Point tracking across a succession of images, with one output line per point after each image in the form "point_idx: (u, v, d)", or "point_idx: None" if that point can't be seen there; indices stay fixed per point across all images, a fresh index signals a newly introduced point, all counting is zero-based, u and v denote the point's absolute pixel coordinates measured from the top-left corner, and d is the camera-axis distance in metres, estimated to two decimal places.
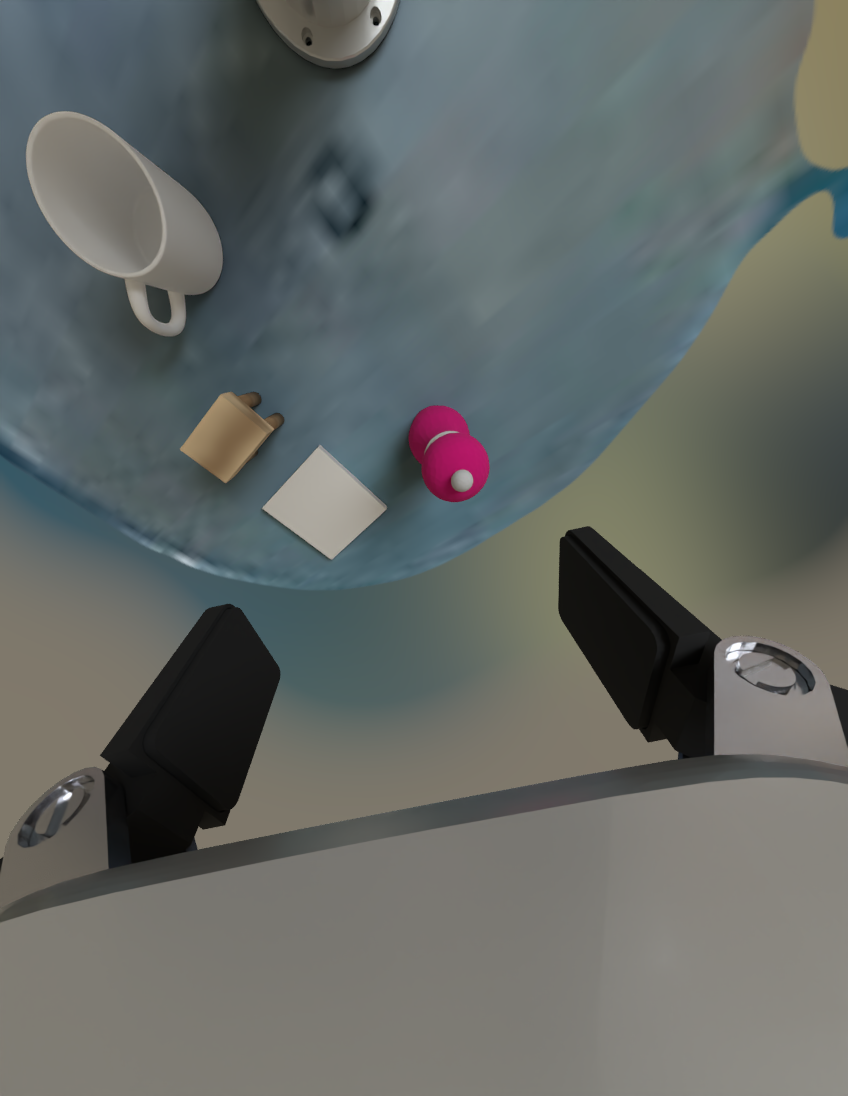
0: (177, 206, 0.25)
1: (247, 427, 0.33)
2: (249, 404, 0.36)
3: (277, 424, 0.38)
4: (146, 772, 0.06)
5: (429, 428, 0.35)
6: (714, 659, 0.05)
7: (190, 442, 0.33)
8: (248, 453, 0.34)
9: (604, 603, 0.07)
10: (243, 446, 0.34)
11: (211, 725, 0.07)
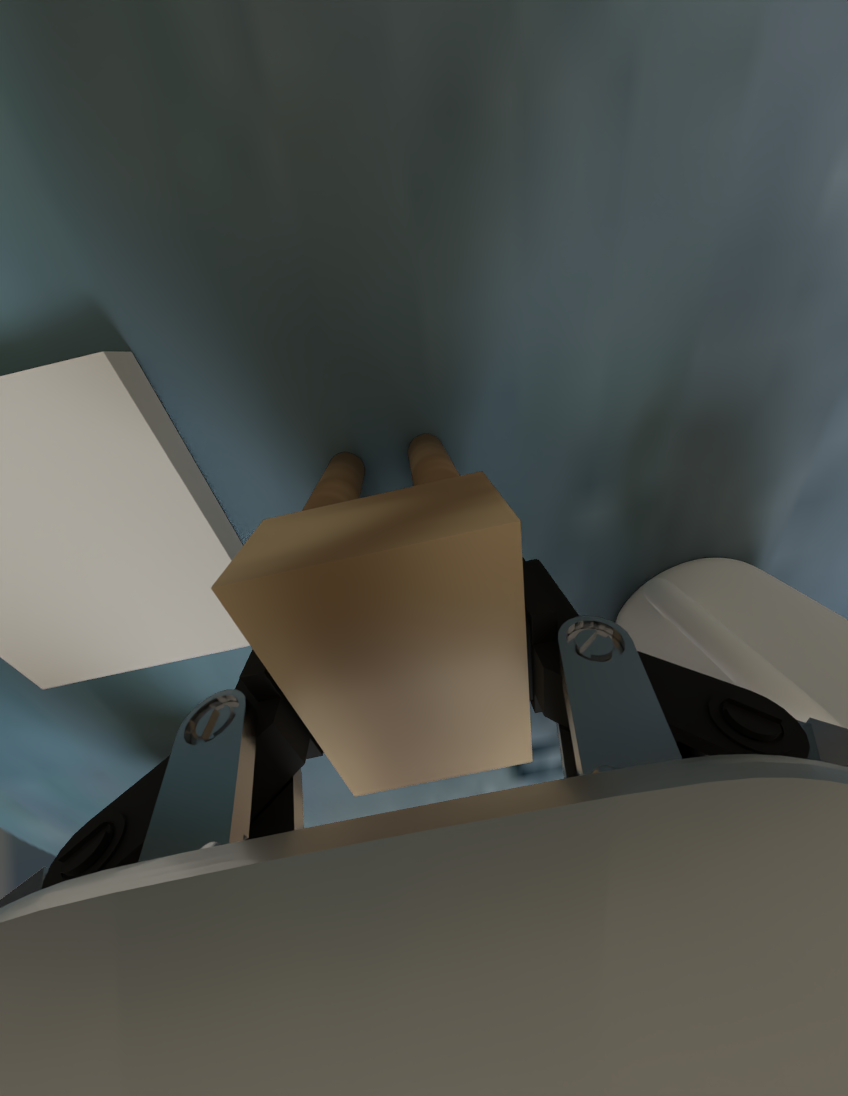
0: None
1: (406, 771, 0.09)
2: None
3: None
4: (272, 696, 0.07)
5: None
6: (557, 634, 0.06)
7: (503, 593, 0.06)
8: (321, 736, 0.08)
9: None
10: (356, 736, 0.08)
11: None
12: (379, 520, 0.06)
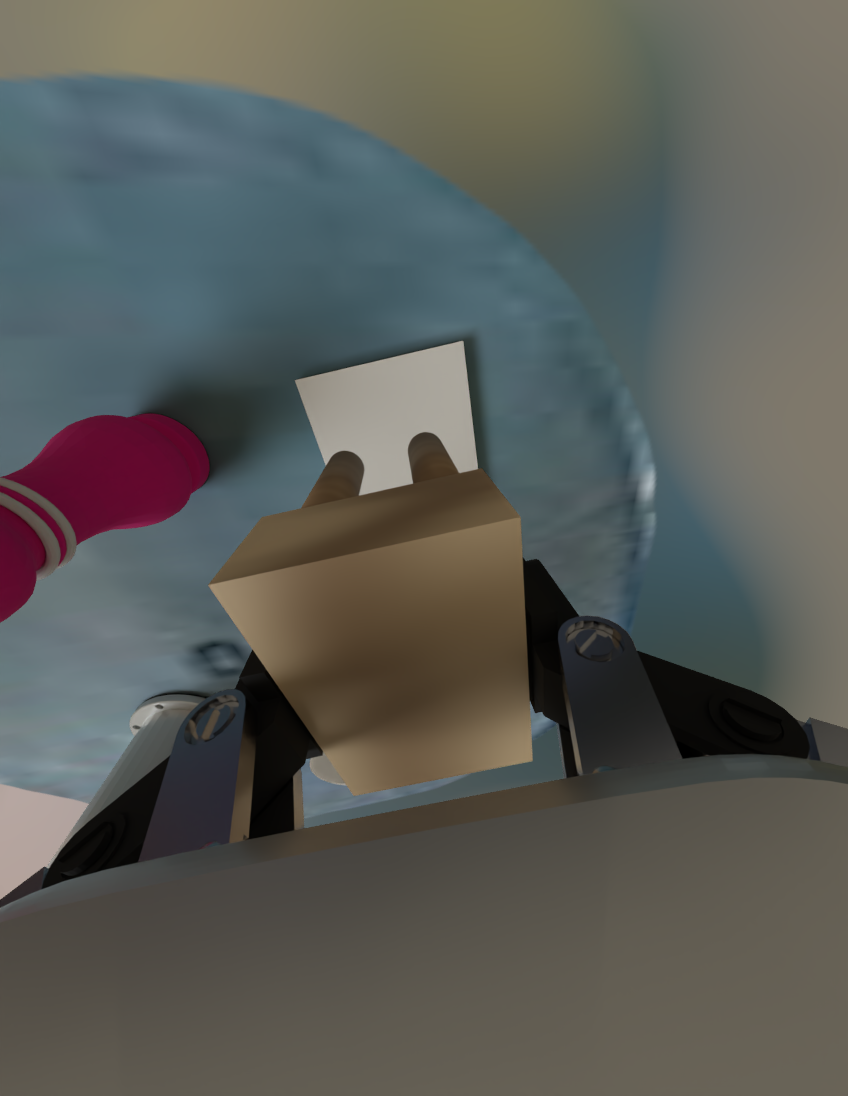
0: None
1: (405, 770, 0.09)
2: None
3: None
4: (273, 696, 0.07)
5: None
6: (557, 634, 0.06)
7: (503, 591, 0.06)
8: (320, 735, 0.07)
9: None
10: (354, 735, 0.08)
11: None
12: (378, 517, 0.06)
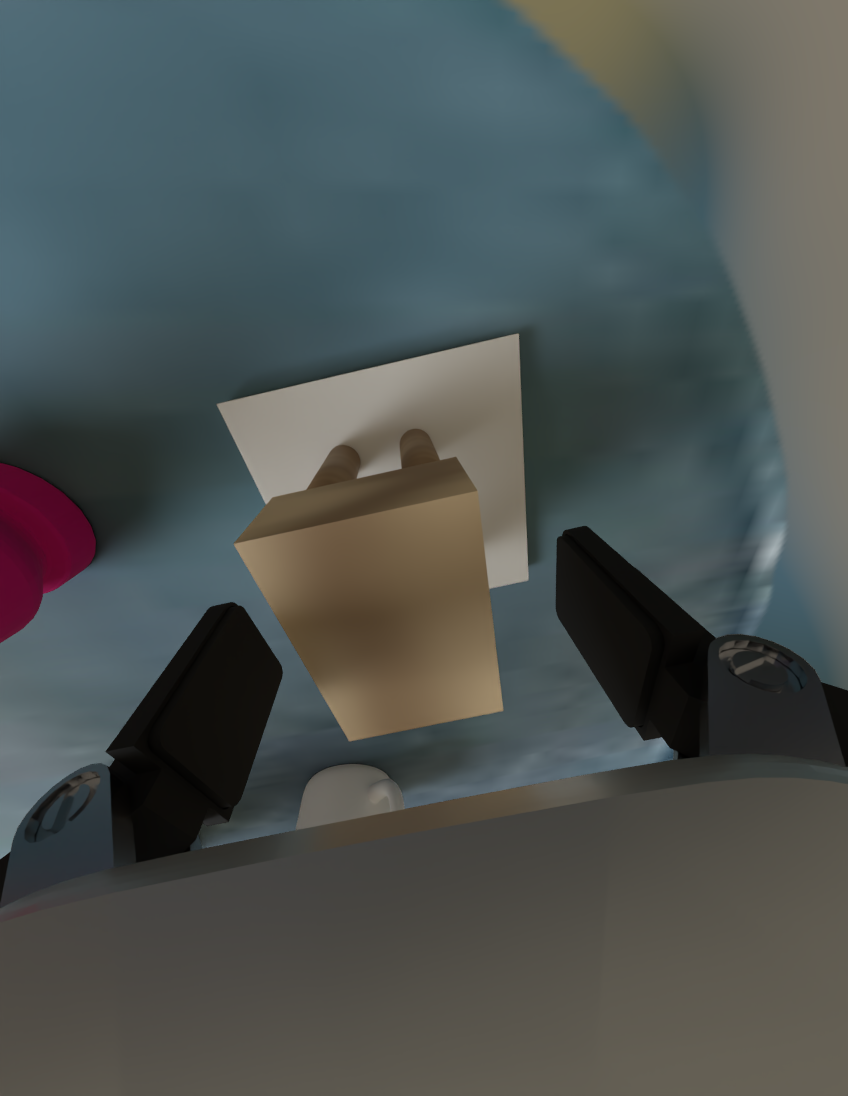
0: None
1: (393, 716, 0.10)
2: None
3: None
4: (151, 768, 0.06)
5: None
6: (708, 657, 0.05)
7: (468, 552, 0.07)
8: (320, 681, 0.09)
9: (600, 602, 0.07)
10: (349, 681, 0.09)
11: (215, 722, 0.07)
12: (368, 494, 0.07)
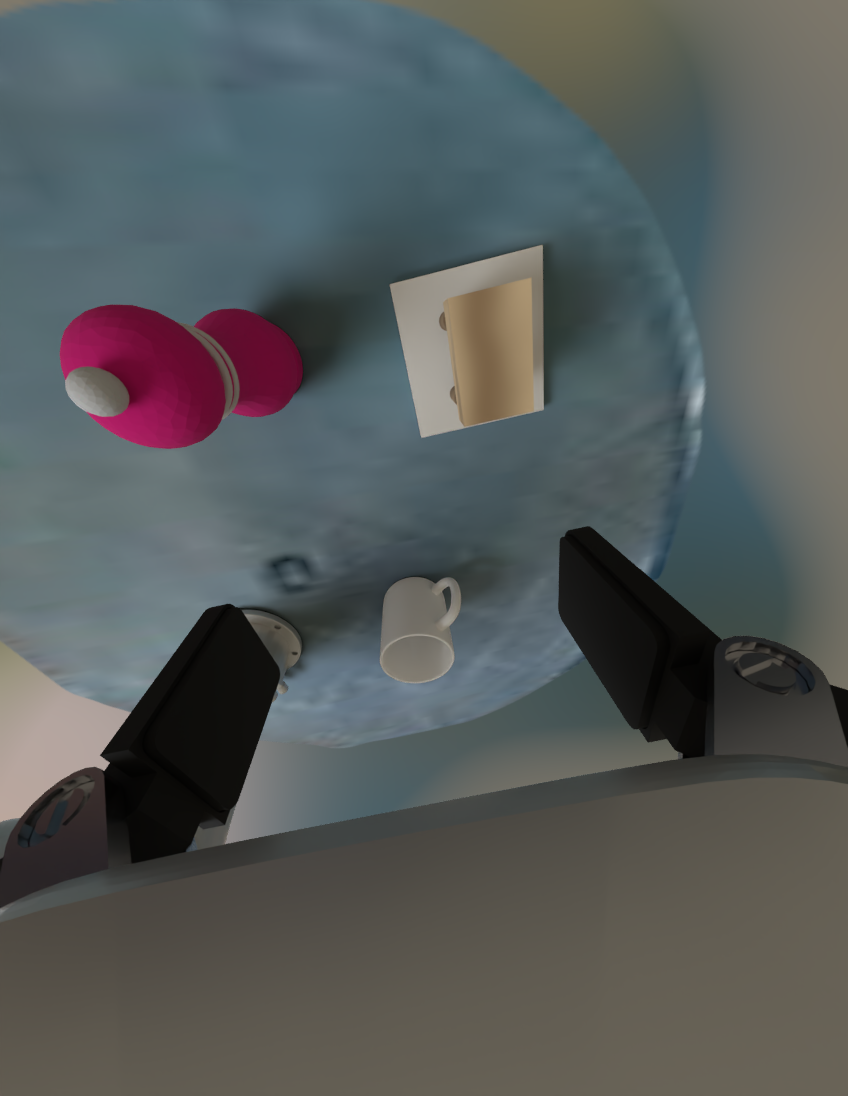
0: (382, 635, 0.37)
1: (486, 409, 0.23)
2: None
3: (456, 404, 0.28)
4: (146, 772, 0.06)
5: (242, 408, 0.24)
6: (714, 659, 0.05)
7: (526, 307, 0.20)
8: (460, 380, 0.22)
9: (604, 603, 0.07)
10: (472, 382, 0.22)
11: (211, 725, 0.07)
12: None
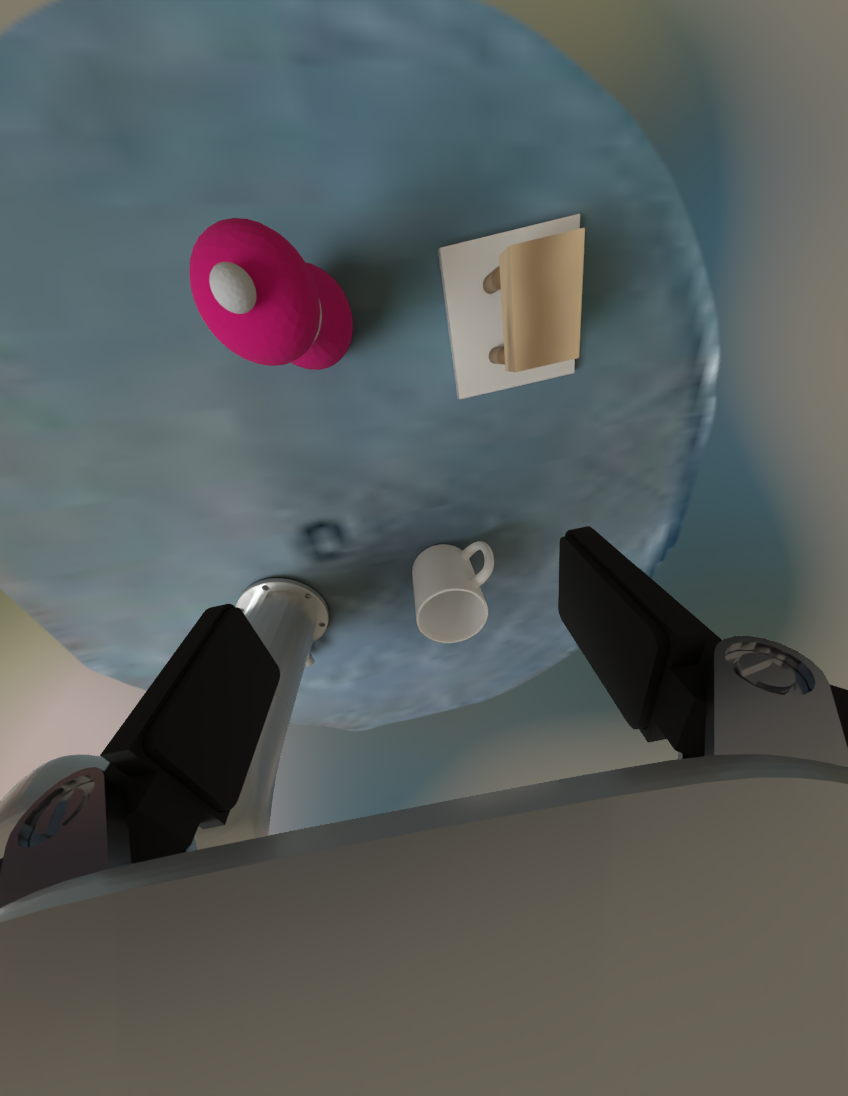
0: (418, 594, 0.38)
1: (536, 355, 0.25)
2: None
3: (498, 362, 0.30)
4: (146, 772, 0.06)
5: (308, 354, 0.25)
6: (714, 659, 0.05)
7: (578, 256, 0.22)
8: (515, 326, 0.24)
9: (604, 603, 0.07)
10: (525, 327, 0.24)
11: (211, 725, 0.07)
12: None
